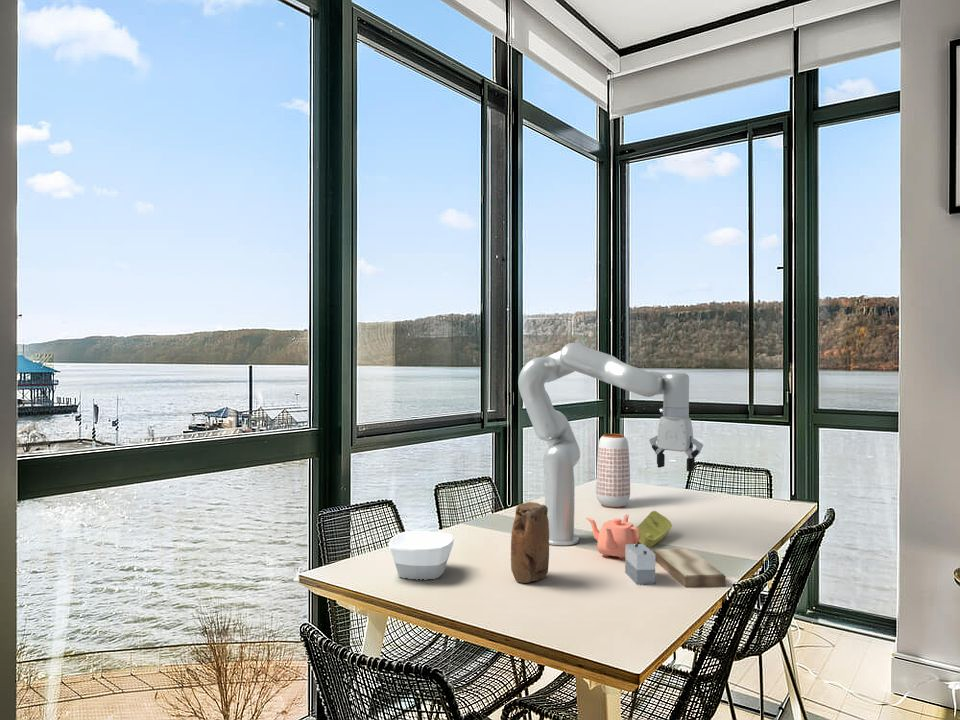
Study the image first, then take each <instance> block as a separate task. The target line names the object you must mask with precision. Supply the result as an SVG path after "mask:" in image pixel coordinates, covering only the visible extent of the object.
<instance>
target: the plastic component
mask: <svg viewBox="0 0 960 720" xmlns="http://www.w3.org/2000/svg"><path fill="white" fill-rule="evenodd" d="M672 525H673V524H672V522H671V521H670V520H669V519H668V518H667V517H665V516H664V515H663V514H661V513H659V512H658V511H656V510H652V511H651V512H649V514H648V515H647V516H646V517H645V518H644V519H643V520H642V521H641V523H640V524H638V526H636V528H638V529H639V530H640V532H641V537H640V539H639V541H638V544H644V545H645V546H646V547H647V548H651V547H653V546H655V545H656V544H657V543H659V542H660V541H661V540H664V539H665V536H666V535H667V534H668V533H669V532H670V530H671V529H672V527H673V526H672ZM635 533H636V539H637V536H638V533H637V531H635Z"/></svg>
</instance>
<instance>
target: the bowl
mask: <svg viewBox="0 0 960 720" xmlns="http://www.w3.org/2000/svg"><path fill="white" fill-rule="evenodd" d="M454 541H455V540H454V537H453V536H452V534H451V533H446V532H439V531H438V532H437V531H402V532H401V533H397V534H396V535H393V537H391V538H390V540H389V542H388V547H389V550H390V553H391V556H392V560H393V563H394V565H395V569H396V571H397V574H398V577H399V578H400V577H402V578H401V579H405V578H408V579H407V580H412V579H416V580H415V581H428V580H427V579H434V580H436V578H437V579H438V578H440V577H441V576H442V575H443V574H444V572H445V569H446V566H447V563H448V560H449V558H450V555H451V551H452V548H453V546H454ZM418 579H420V580H418ZM422 579H424V580H422Z"/></svg>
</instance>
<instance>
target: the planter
mask: <svg viewBox="0 0 960 720" xmlns="http://www.w3.org/2000/svg"><path fill="white" fill-rule="evenodd" d="M629 451H630V450H629V442H628V439H627V438H626V437H625V435H624V434H621V433H604V434H603V435H602V436H601V437H600V438H599V442H598V449H597V460H596V480H595V481H596V483H595V495H596V499H597V501H598V502H599V504H600V505H601V506H602V507H603V508H608V509H620V508H624V507H625V505H626V504H628V502H629V500H630V497H631V467H630V452H629Z"/></svg>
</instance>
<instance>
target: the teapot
mask: <svg viewBox="0 0 960 720" xmlns="http://www.w3.org/2000/svg"><path fill="white" fill-rule="evenodd" d="M629 517H630V515H629V514H625V515H624V516H623V520H622V518H617V517H616V518H613V519H610V520H607V521H605V522H604V523H603V524H602V525H601V527H600V530H599V529H598V526H597V522H596V521H595V520H594V519H592V518H589V517H586V518H585V519H587V521H588V522H589V523H590V524H591V529H592V534H593V537H594V539H595V540H596V541H597V551H598V553H599V554H602V556H601V557H604V558H609V557H610V556H611V557H618V558H619V560H621V561H625V544H639V542H638V541H639V539H640V537H641V532H640V530H639V529H638V528H636V527H637V526H636V527H635V526H634V523H632V522H629ZM635 531H637V533H638V536H637V539H636V533H635Z"/></svg>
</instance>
